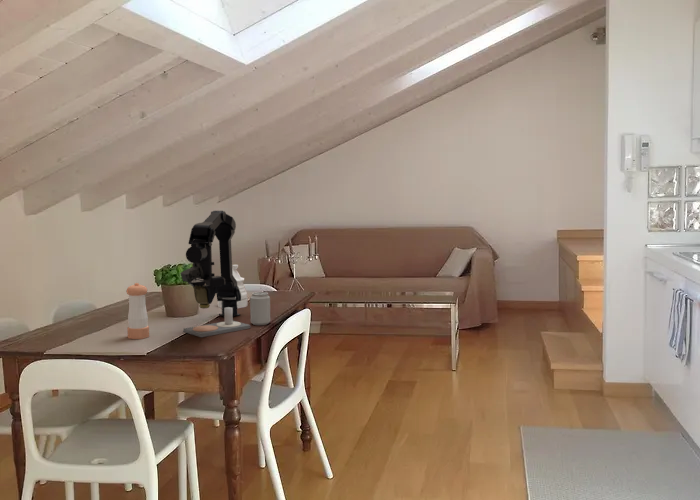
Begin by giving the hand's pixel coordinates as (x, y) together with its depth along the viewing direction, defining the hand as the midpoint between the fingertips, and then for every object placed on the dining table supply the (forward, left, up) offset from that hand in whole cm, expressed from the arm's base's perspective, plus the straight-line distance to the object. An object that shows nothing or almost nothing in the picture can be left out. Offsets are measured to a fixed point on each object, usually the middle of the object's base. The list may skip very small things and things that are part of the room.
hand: (204, 302), depth 253 cm
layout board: (0, +5, -11) cm, 12 cm away
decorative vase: (0, 0, -2) cm, 2 cm away
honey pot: (-36, +36, -11) cm, 52 cm away
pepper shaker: (-10, -21, -11) cm, 26 cm away
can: (+2, +23, -11) cm, 26 cm away
